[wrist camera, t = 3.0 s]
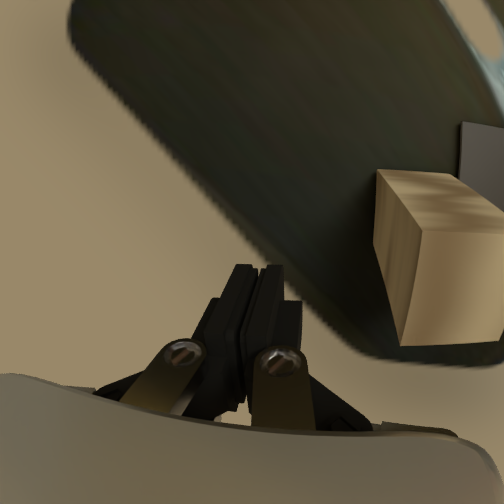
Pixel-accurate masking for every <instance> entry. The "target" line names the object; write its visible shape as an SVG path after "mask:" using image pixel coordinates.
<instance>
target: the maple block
mask: <svg viewBox="0 0 504 504" xmlns="http://www.w3.org/2000/svg"><path fill="white" fill-rule="evenodd" d="M373 245H374V249H375V252H376V255H377V259H378V262H379V265H380V269H381V272H382V276H383V279H384V283H385V287H386V290H387V294H388V298H389V302H390V305H391V309H392V313H393V317H394V322H395V326H396V330H397V334H398V339H399V343H400V346H418V345H444V344H461V343H476V342H489V341H499V339H500V336H501V334H502V332H503V329H504V212H503V211H501V210H500V209H499V208H497V207H496V206H495V205H493V204H492V203H491V202H489V201H488V200H487V199H485V198H484V197H482V196H481V195H480V194H478V193H477V192H475V191H474V190H473V189H471V188H470V187H468V186H467V185H465V184H464V183H462V182H461V181H459V180H458V179H456V178H455V177H453V176H452V175H450V174H445V173H432V172H419V171H402V170H382V169H377V184H376V207H375V223H374V237H373Z"/></svg>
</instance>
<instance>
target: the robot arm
mask: <svg viewBox="0 0 504 504" xmlns="http://www.w3.org/2000/svg"><path fill="white" fill-rule="evenodd" d="M301 336H302V301H290V300H284V272H283V265H267V267H266V269H265V268H261V271H260V274H259V277H258V269H257V268H253V267H252V265H251V264H236V265H235V268H234V270H233V272H232V274H231V276H230V278H229V280H228V282H227V284H226V286H225V288H224V291H223V292H222V294H221V297H220V298H212V299H211V300H210V303H209V304H208V306H207V308H206V310H205V312H204V314H203V316H202V318H201V320H200V322H199V324H198V326H197V328H196V330H195V332H194V333H193V335H192V337H191V339H189V338H185V339H178V340H175V341H172V342H170V343H168V344H167V345H165V346H164V347H163V348H162V349H161V350H160V352H159V353H158V354H157V355H156V356H155V358H154V359H153V360H152V362H151V363H150V364H149V365H148V366H147V368H146V369H145V370H144V371H141V372H139V373H137V374H134V375H131V376H129V377H126V378H124V379H121V380H118V381H116V382H114V383H111V384H108V385H106V386H104V387H102V388H100V389H99V390H97V391H96V389H95V388H88V387H74V386H63V385H60V384H57V383H53V382H50V381H47V380H43V379H40V378H37V377H32V376H27V375H23V374H14V373H9V374H0V504H504V485H503V482H502V479H501V476H500V473H499V471H498V469H497V466H496V464H495V463H494V461H493V459H492V458H491V456H490V455H489V454H488V453H487V452H486V451H485V450H484V449H483V448H482V447H480V446H479V445H477V444H475V443H472V442H470V441H468V440H464V439H462V438H458V436H457V435H456V434H455V433H454V432H452V431H451V430H448V429H443V428H434V427H422V426H414V425H406V424H398V423H390V422H384V421H382V424H381V425H379V424H372V423H370V421H369V420H368V419H367V418H365V416H364V415H362V414H361V413H360V412H358V411H357V410H356V409H354V408H353V407H352V406H350V405H349V404H348V403H346V402H345V401H344V400H342V399H341V398H339V397H338V396H337V395H335V394H334V393H333V392H331V391H330V390H329V389H327V388H326V387H325V386H324V385H322V384H321V383H320V382H318V381H317V380H316V379H315V378H313V377H312V376H311V375H310V374H309V373H308V365H307V360H306V357H305V355H304V354H303V353H302V352H301V351H300V348H301ZM246 395H247V401H248V408H249V413H250V414H251V415H252V419H251V426H244V425H237V424H228V423H222V422H221V414H223V413H225V412H227V411H233V412H236V411H237V408H238V404H239V403H244V402H245V399H246Z"/></svg>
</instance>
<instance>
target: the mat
mask: <svg viewBox="0 0 504 504" xmlns="http://www.w3.org/2000/svg"><path fill="white" fill-rule="evenodd" d="M458 180H459V181H461V182H462V183H464V184H465V185H467V186H468V187H470V188H471V189H473V190H474V191H475V192H477V193H478V194H480V195H481V196H482V197H484V198H485V199H487V200H488V201H489V202H491V203H492V204H493V205H495V206H496V207H497V208H499V209H500V210H501V211H503V212H504V129H503V128H498V127H493V126H487V125H481V124H475V123H469V122H462V121H461V135H460V157H459V172H458Z"/></svg>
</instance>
